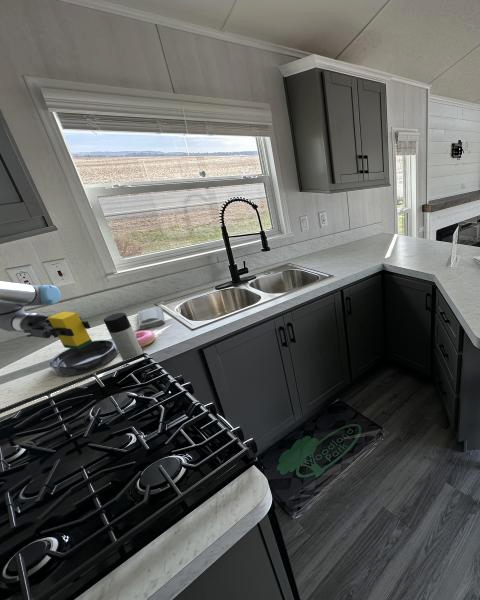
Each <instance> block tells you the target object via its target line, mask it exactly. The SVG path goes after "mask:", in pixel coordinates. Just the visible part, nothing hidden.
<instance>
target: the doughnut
mask: <svg viewBox="0 0 480 600" xmlns="http://www.w3.org/2000/svg"><path fill="white" fill-rule="evenodd" d="M134 333H135V335H136V338H137V340H138V342H139V344H140V346H141V348H143V347H146V346H148V345H150V344H151V343H152V342H154V341H155V339H156V334H155V333H154V332H153V331H152V330H146V329H143V330H139V331H136V332H135V331H134Z"/></svg>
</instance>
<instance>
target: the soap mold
mask: <svg viewBox="0 0 480 600" xmlns="http://www.w3.org/2000/svg"><path fill="white" fill-rule="evenodd" d="M137 319H138V321H137V322H138V329H139V331H144V330H146V329H149V328H153V327H157V326H160V325H164V324H166V321H165V316H164V310H163V307H161V305H158V306H154V307H149V308H146V309H142V310H138V311H137Z"/></svg>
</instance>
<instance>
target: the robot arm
mask: <svg viewBox="0 0 480 600" xmlns="http://www.w3.org/2000/svg"><path fill="white" fill-rule="evenodd" d="M61 294H62V293H61V291H60V289H59V288H58V287H57V286H55V285H52V284H42V285H37V284H36V285H35V284H26V283H17V282H9V281H1V280H0V330H3V331H5V332H19V333H24V334H25V336H26V337H27V338H30V337H33V338H42V339H50V338H51V337H52V336H53V338H59V337H58V335H65V336H74V334H73V332H72V330H71V329H67V328H58V327H57V328H55V329H56V330H55V329H54V328H53V326H52V325H51V323H50V321H49V319H48V317H50V316H49V315H46V314H40V313H32V312H26V311H25V309H24V307H25V308H26V307H37V306H48V305H55V304H57V303H59V302H60V300H61V298H62V295H61ZM78 316H79V318H80V319H81V321H82V323H83V325H84V327H85V329H91V325H90V324H89V321H87V320H83V318H82V317H81V316H80V315H78Z"/></svg>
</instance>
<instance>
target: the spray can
mask: <svg viewBox="0 0 480 600" xmlns="http://www.w3.org/2000/svg"><path fill="white" fill-rule="evenodd" d="M103 322H104V324H105V326H106V329H107V331H108V333H109V335H110V338H111V339H112V341H114V343H115V345H116V347H117V349H118V354H119V356H120V358H121V360H122V362H123V361H124V360H127V359H129V358H132V357H135V356H137V355H140V354H143V353H144V351H143V348H142V347H141V346H140V344H139V342H138V340H137V338H136V335H135V331H134V329H133V326H132V324H131V322H130V320H129V317H128V315H127V314H126V313H125V312H116V313H113V314H112V313H111V314H110V315H108V316H106V317H104V318H103Z"/></svg>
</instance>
